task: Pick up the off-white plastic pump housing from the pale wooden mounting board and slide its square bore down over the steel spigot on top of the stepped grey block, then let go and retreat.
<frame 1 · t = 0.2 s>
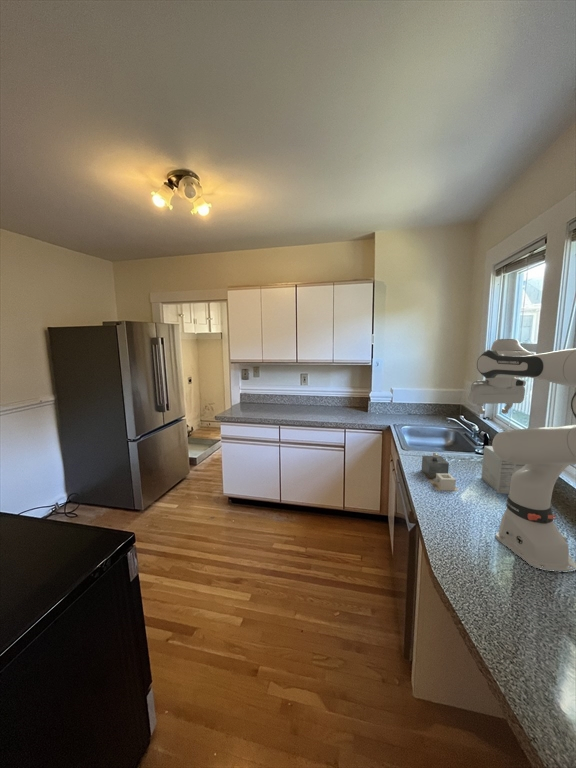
hand: (492, 413, 125), 39 cm above the worktop, tool pointing down, fingers open, 8 cm apart
supplement box: (502, 487, 144), on the worktop
mounting board: (438, 482, 148), on the worktop
stepped grey block: (434, 474, 153), resting on mounting board
pump housing: (444, 486, 141), point 1 cm above the worktop, touching mounting board
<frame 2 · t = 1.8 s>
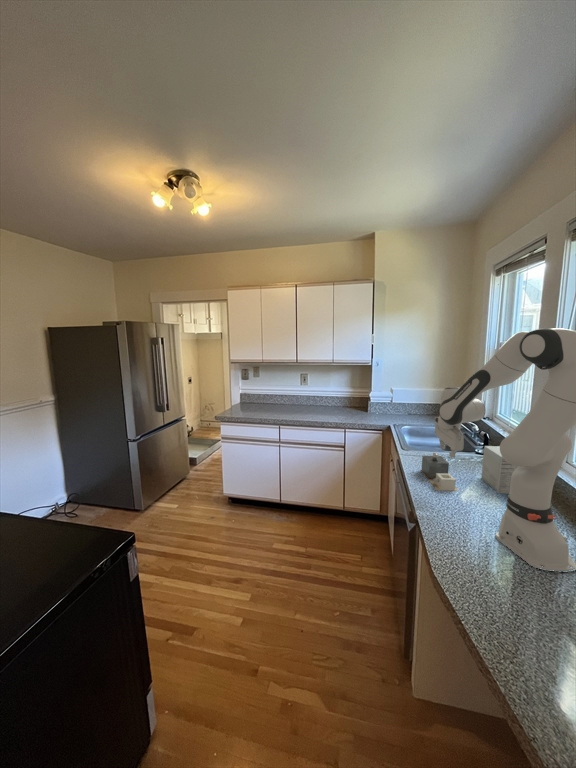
hand: (447, 452, 139), 18 cm above the worktop, tool pointing down, fingers open, 8 cm apart
nothing on the worktop moved.
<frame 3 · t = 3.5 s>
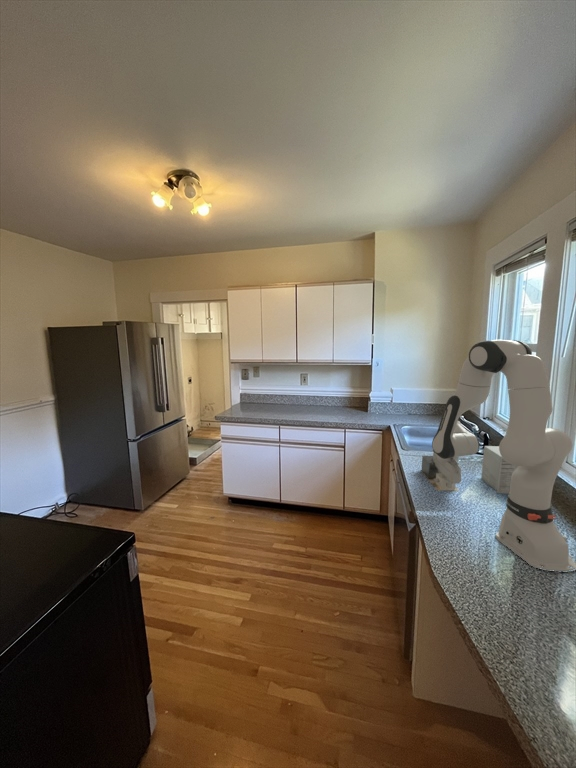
hand: (445, 483, 141), 3 cm above the worktop, tool pointing down, fingers closed on pump housing, 6 cm apart
pump housing: (444, 486, 141), point 1 cm above the worktop, touching gripper, mounting board
everything else where it was.
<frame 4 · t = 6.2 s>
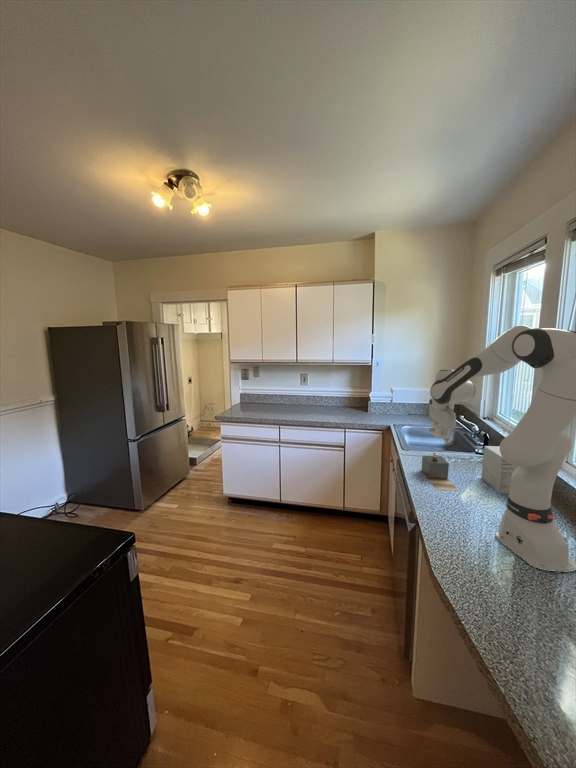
hand: (440, 432, 146), 24 cm above the worktop, tool pointing down, fingers closed on pump housing, 6 cm apart
pump housing: (440, 436, 146), point 23 cm above the worktop, touching gripper
everything else where it was.
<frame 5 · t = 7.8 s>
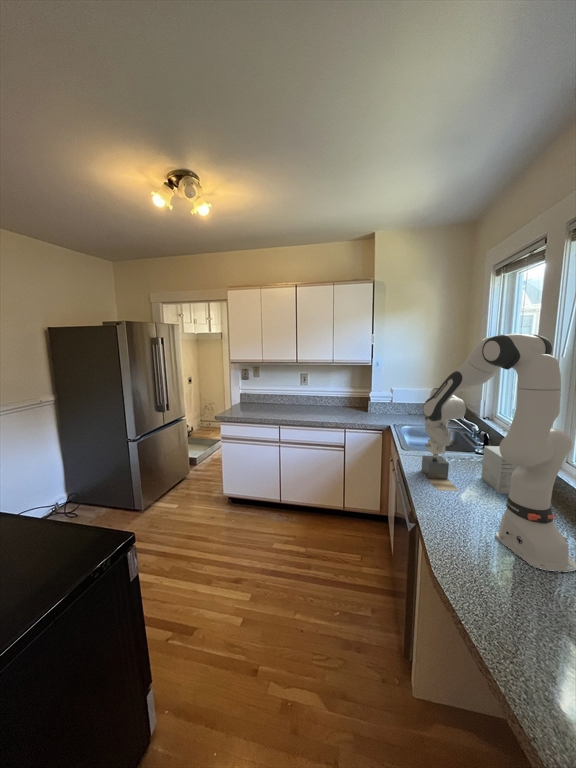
hand: (436, 448, 151), 15 cm above the worktop, tool pointing down, fingers closed on pump housing, 6 cm apart
pump housing: (435, 451, 151), point 14 cm above the worktop, touching gripper
everything else where it was.
when the fingers open (12 cm above the worktop, at t = 9.0 s): pump housing stays where it is, resting on stepped grey block.
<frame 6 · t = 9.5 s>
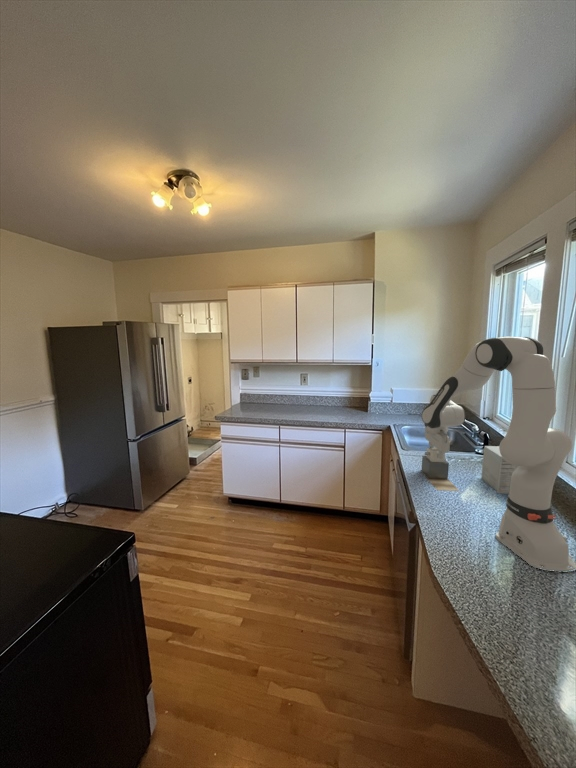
hand: (435, 454, 151), 12 cm above the worktop, tool pointing down, fingers open, 8 cm apart
pump housing: (435, 459, 152), point 9 cm above the worktop, touching stepped grey block
everything else where it was.
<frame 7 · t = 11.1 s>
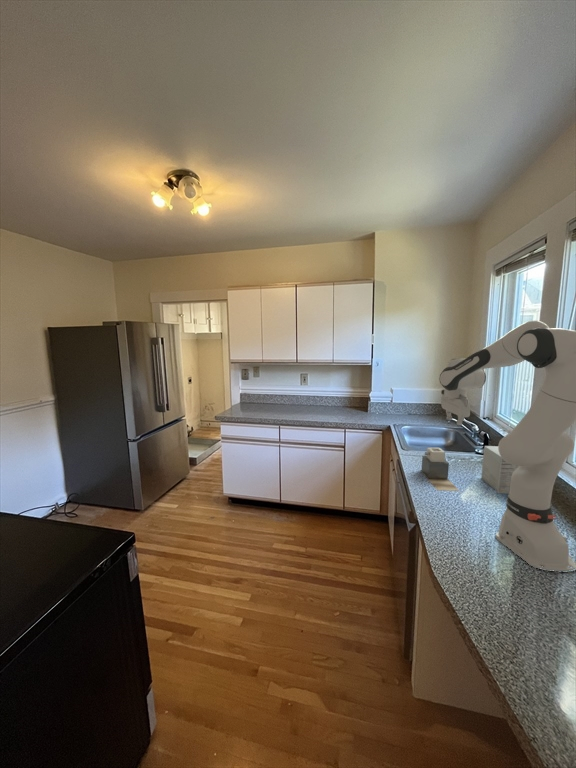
hand: (454, 422, 146), 29 cm above the worktop, tool pointing down, fingers open, 8 cm apart
nothing on the worktop moved.
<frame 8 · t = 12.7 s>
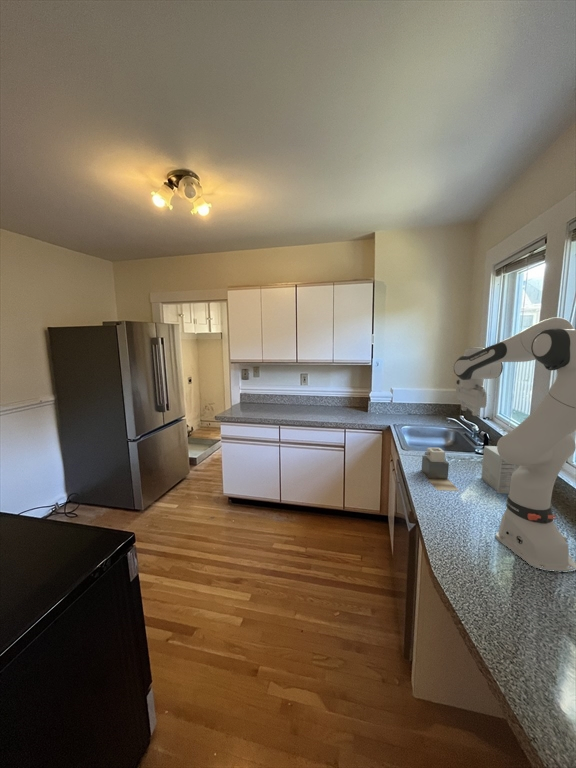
hand: (469, 412, 143), 34 cm above the worktop, tool pointing down, fingers open, 8 cm apart
nothing on the worktop moved.
at the end: pump housing 0.1 cm off-centre on the stepped grey block, point 8.0 cm above the stepped grey block's base; pump housing tilted 0°; the gripper is holding nothing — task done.
